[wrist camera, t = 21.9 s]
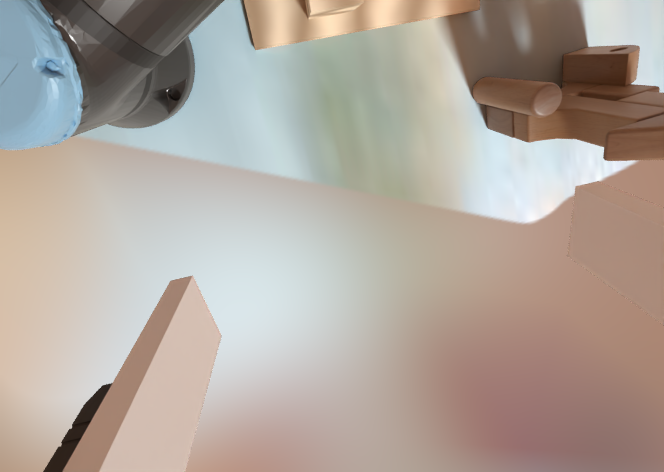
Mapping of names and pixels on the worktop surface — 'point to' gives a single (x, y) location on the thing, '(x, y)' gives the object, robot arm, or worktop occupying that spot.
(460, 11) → the lid
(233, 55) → the worktop surface
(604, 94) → the wooden toy
